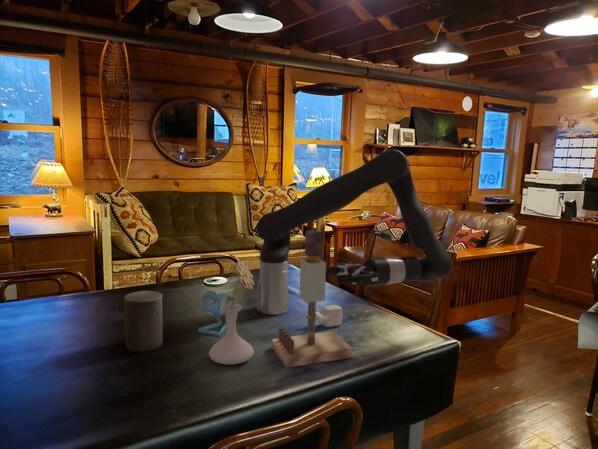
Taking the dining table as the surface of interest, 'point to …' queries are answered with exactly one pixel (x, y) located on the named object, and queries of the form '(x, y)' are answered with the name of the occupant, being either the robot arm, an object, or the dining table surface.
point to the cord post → (310, 327)
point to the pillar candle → (143, 321)
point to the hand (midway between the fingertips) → (330, 275)
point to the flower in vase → (234, 326)
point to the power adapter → (330, 316)
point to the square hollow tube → (312, 280)
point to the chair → (214, 312)
